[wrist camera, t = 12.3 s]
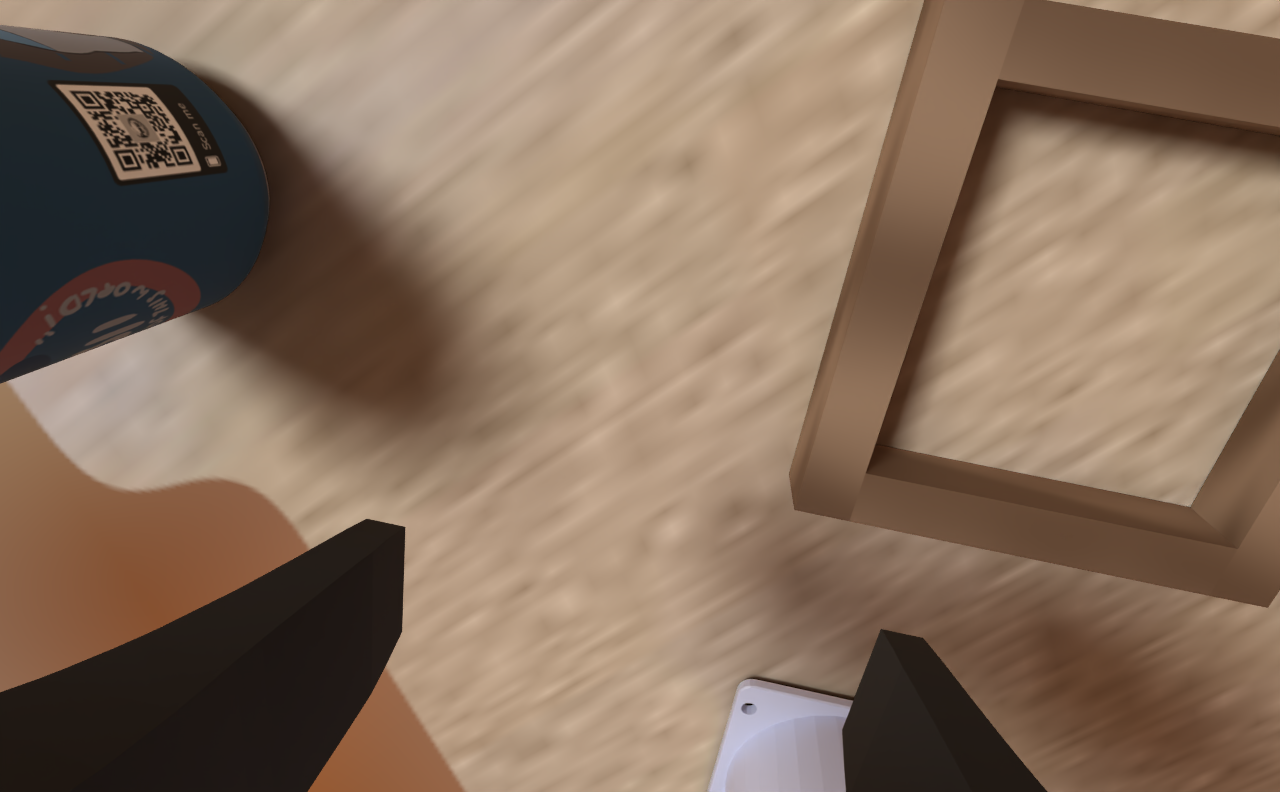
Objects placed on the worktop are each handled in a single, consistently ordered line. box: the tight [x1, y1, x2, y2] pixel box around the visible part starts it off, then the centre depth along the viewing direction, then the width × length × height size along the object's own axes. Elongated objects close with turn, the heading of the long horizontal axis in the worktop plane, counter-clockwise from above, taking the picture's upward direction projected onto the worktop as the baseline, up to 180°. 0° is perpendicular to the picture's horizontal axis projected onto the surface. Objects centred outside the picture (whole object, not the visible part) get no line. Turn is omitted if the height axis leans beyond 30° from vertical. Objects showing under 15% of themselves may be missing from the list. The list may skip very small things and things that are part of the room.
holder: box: [789, 0, 1280, 608], centre depth 17 cm, size 12×12×2 cm
